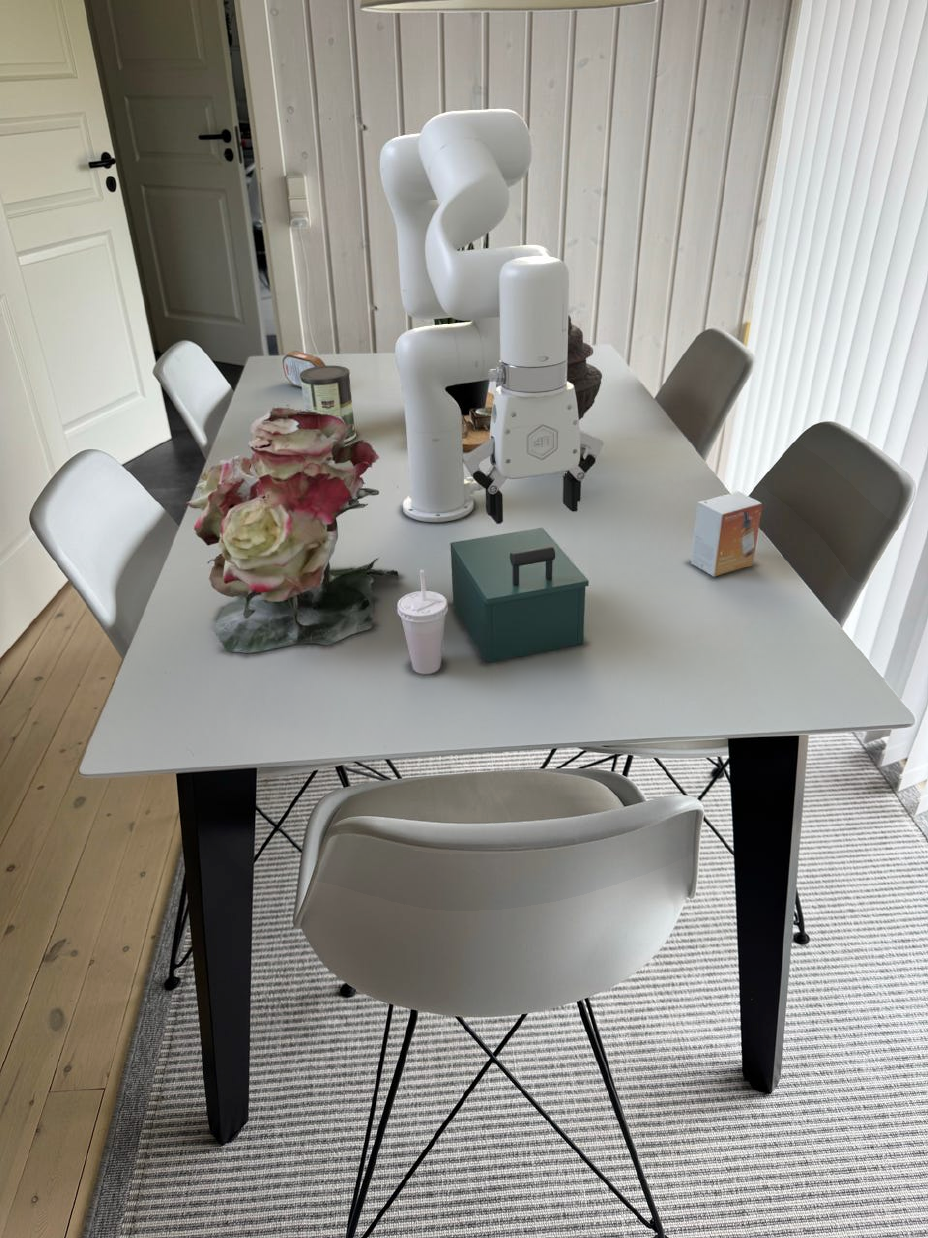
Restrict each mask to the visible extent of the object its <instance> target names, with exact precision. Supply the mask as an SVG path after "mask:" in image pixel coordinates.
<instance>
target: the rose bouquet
mask: <svg viewBox="0 0 928 1238" xmlns="http://www.w3.org/2000/svg"><path fill="white" fill-rule="evenodd" d="M289 406H290V404H286V405H285V406H284V407H282V406H281V407H271V408H269V409H268V411H267V412H266V413H265V414H264V415H263V416H260V417H257V418H256V419H255V420H254V421H253V422H252V423H251V425H250V426H249V431H250V432H249V433H250V434H251V435H252V436H253V437H252V441H251V440H250V441H248V443H247V444H248V447H249V448H250V449H251V450H252V452H254V453H252V454H251V456H250V458H248V457H245V456H243V455H240V454H238V455H235V456H233V457H231V458H227V459H222V460H219V462H218V464H216V465H213V466H211V467H210V468H209V469H207V470H205V471H204V472H202V473H201V475H200V479H202V480H203V482H200V483H197V485H195V487H196V488H198V490H199V492H200V493H199V497H198V498H195V499H193V500H190V501H187V502H185V505H186V506H187V505H188V506H189V508H191V509H196V510H197V509H200V510H201V511H202V513H201V514H200V516H199V518H198V519H197V520H196V522H195V524H194V525H193V530H194V531H195V535H196V536H197V537H198V538H200V539H201V540H202V541H203V542H204V544H205V545H206V546H208V547H210V546H212V545H215V544H218V545H217V546H218V547H219V548H220V550H221V551H220V554H218V556H215V558H214V559H210V560H208V561H207V562H206V563H207V564H209V563H210V562H214V564H213V566H212V567H211V569H210V574H209V577H208V580H209V582H210V585H211V587H212V589H213V590H215V591H216V592H218V593H219V594H221V595H223V596H226V597H230V598H235V597H242V599H239V600H237V601H235V602H233V603H231V604H229V605H227V606H224V608H223V609H222V611H221V612H220V615H219V616H218V618H217V621H216V623H215V625H214V627H213V630H212V632H213V633H214V634H215V636H217V638H218V640H219V641H220V643H221V644H222V646H223V647H224V649H225V651H226V652H231V653H232V652H234V653H235V652H236V653H244V654H249V653H260V652H264V651H269V650H273V649H279V648H282V647H287V646H292V645H300V644H302V645H303V644H318V645H323V646H331V645H334V643H337V642H339V641H340V640H343V639H345V638H347V637H348V636H350V635H351V636H352V635H354V634H356V633H362V632H364V631H368V630H371V629H372V626H373V620H374V619H373V616H374V602H373V601H374V599H373V592H372V591H373V589H372V584H373V583H374V578H373V577H372V576H373V575H376V576H386V575H391V576H396V577H397V578H398V579H397V580H400V579H399V577H400V576H399V572H398V571H397V570H394V569H392V570H391V569H390V570H389V571H387V570H383V569H380V568H379V569H374V565H375V563H376V561H379V559H380V557H378V558H375V559H374V560H373V561H371V562H369V563H367V564H364V565H362V566H359V567H356V568H353V567H349V568H342V569H331V563H330V561H331V558H332V556H333V555H334V552H335V549H336V546H337V545H336V544H337V542H338V539H339V528H338V527H339V525H338V521H337V518H338V517H340V516H341V515H342V514H343V513H346V512H347V511H350V510H357V509H364V508H365V507H367V506H368V505H369V503H366V504H365V503H362V502H360V500H362V499H364V498H366V497H368V496H377V495H380V490H379V489H375V488H370V487H364V485H365V484H367V483H366V482H365V481H364V478H363V477H361V476H362V475H364V474H365V473H366V472H367V470H368V469H369V468H373V464H375V463H377V460H379V459H380V456H379V455H378V454H377V452H376V450H375V449H374V447H373V446H372V444H371V442H370V441H369V440H367V439H365V440H364V439H361V440H357V441H355V442H352V443H349V444H347V445H345V444H346V443H344V440H345V438H346V436H347V435H348V428H347V426H346V424H345V422H344V421H343V419H342V418H341V417H336V416H333V415H331V414H330V415H328V414H321V413H317V412H310V411H308V412H306V411H305V410H302V409H295V408H290V407H289ZM251 467H252V469H253V470H254V472H255V473H256V475H257V476H255V475H254V474H253V472H252V471H251ZM396 486H397V487H396V488H397V489H399V485H396ZM370 575H372V576H370Z"/></svg>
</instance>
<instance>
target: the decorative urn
mask: <svg viewBox="0 0 928 1238" xmlns="http://www.w3.org/2000/svg"><path fill="white" fill-rule="evenodd" d="M593 355H594V348H593V347H592V346H591V345H590V344H588V343H586V342H584V334H583V331H582V330H581V328H580V327H578V326H576V325H575V324H573V323H572V318H571V315H570V314H568V353H567V382H569V383H571V384H573V385H574V389H575V394H576V400H577V407H578V416H579V421H580V420H581V419H583V418H584V416H585V415H586V413H587V412H588V411H589V410H590V409H591V408H592V407H593V405H594V404H595V400H596V398H597V396H598V395H599V392H600V388H601V385H602V379H603V374H602V372H601V370H599V369H598V368H597V367H596V366H595V365H592V364H589V363H587V359H588V358H589V357H591V356H593ZM494 383H496V384H495V388H496V387H498V386H501V384H500V383H499V382H496V381H494ZM586 447H587V446H586V445H584V444H582V443H580V456H581V455H582V454H583V453H584V452H585V449H586Z"/></svg>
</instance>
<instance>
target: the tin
mask: <svg viewBox="0 0 928 1238" xmlns="http://www.w3.org/2000/svg"><path fill="white" fill-rule="evenodd" d="M318 366H327V364H325V362H324V361H323V360H322V359H321V357H319V356H317V355H313V354H309V353H305V352H302V351H298V350H293V351H292V352H289V353H287V354H285V356H284V357H283V359H282V368H283V372H284V376H285V378H286V379H287V380H288V383H290V384H291V385H293V386H294V387H298V388H301V389H302V385H301V379H300V373H301V372H302V371H304V370H306V369H309V368H313V367H318Z"/></svg>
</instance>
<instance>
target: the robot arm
mask: <svg viewBox="0 0 928 1238" xmlns="http://www.w3.org/2000/svg"><path fill="white" fill-rule="evenodd" d="M532 156H533V141H532V136H531V133H530V129H529V127H528V124H527V123H526V122H525V120H524V119H523V117H522V116H521V115H520V114H518V113H517V112H516V111H514V110H512V109H509V108H508V109H507V108H496V109H495V108H494V109H493V108H492V109H474V110H473V109H472V110H457V111H456V110H453V111H448V112H447V111H446V112H443V113H440V114H438V115H435V116H434V117H432V118H431V119H430V120H428V121H427V122H426V124H424V126H423V128H422V129H421V131H420V133H413V134H406V135H401V136H396V137H394V138H392V139H390V140H388V141H386V143H384V145H383V146H382V148H381V150H380V154H379V175H380V181H381V186H382V189H383V193H384V195H385V198H386V201H387V204H388V206H389V207H390V211H391V213H392V217H393V219H394V223H395V228H396V229H395V230H396V240H397V256H398V258H397V259H398V273H399V288H400V298H401V303H402V306H403V310H404V311H405V313H406V314H407V315H408V316H409V317H411V318H412V319H415V320H423V321H424V320H440V319H449V318H451V319H453V320H457V321H463V322H456V323H449V324H448V323H444V324H435V325H426V326H419V327H415V328H414V327H413V328H411V329H409V330H406V331H405V332H403V333H402V334H401V335H400V336H399V337H397V340H396V343H395V347H394V357H395V364H396V368H397V372H398V376H399V381H400V386H401V391H402V398H403V407H404V408H403V409H404V419H405V420H404V421H405V431H406V445H407V447H406V448H407V449H406V450H407V461H408V476H409V477H408V478H409V491H410V494H409V495H408V496H407V497H405V499H404V500H403V502H402V510H403V513H404V514H405V515H406V516H407V517H409V518H410V519H412V520H416V521H419V522H425V523H446V522H451V521H455V520H458V519H462V518H464V517H465V516H467V515H469V514H470V513H472V511H473V509H474V505H475V504H474V499H473V497H472V496H471V495H473V494H475V492H476V491H481V490H485V512H486V514H487V515H488V516H490V518H491V519H492V520H493V521H494V523H495V524H496V525H500V524H502V523H504V502H503V501H504V498H503V497H504V495H503V493H502V491H501V490H500V489H501V487H502V486H503V484H504V483H505V482H506V480H507V479H508V480H519V479H526V478H527V479H528V478H534V477H540V476H547V475H554V474H559V473H564V475H563V477H562V478H563V479H562V504H563V505H564V506H565V507H566V508H567V509H568V510H569V511H570V512H571V513H575V512H578V509H579V508H578V507H579V505H578V504H579V502H581V495H582V494H581V493H582V481H583V480H584V479H585V478H586V473H587V472H588V471H589V470H590V469H591V468H592V467H593V466H594V464H595V463H596V458H597V457H598V455H599V453H600V451H601V449H602V448H603V446H604V442H603V440H602V439H601V438H599V437H598V436H597V435H593V434H591V433H588V432H585V431H583V430H580V420H579V416H578V407H577V400H576V394H575V389H574V385H573V384H571V383H569V382H567V353H568V315H569V307H570V306H569V305H570V303H569V302H570V299H569V298H570V272H569V269H568V265H567V264H566V263H565V262H564V261H563V260H561V259H559V258H557V257H554V254H552V252H551V251H550V250H549V249H548V248H546V247H545V246H542V245H537V244H525V245H524V244H523V245H514V246H500V247H498V246H497V247H488V248H475V249H465V250H461V249H462V248H465V247H466V246H469V245H470V244H472V243H474V242H476V241H477V240H480V239H481V238H482V237H484V236H486V235H487V234H489V233H490V232H492V231H493V230H494V229H495V228H496V227H498V226H499V225H500V223H502V221H503V220H504V218H505V216H506V215H507V212H508V209H509V206H510V200H511V198H510V188H511V187H513V186H515V185H516V184H517V183H519V182H521V181H522V180H523V178H525V176H526V175H527V173H528V171H529V169H530V166H531V163H532V158H533V157H532ZM465 321H466V322H465ZM488 380H489V382H490V383H493V382H494V383H496V382H499V383H500V384H501V386H498V387H496V386H495V390H494V391H495V392H494V395H493V400H492V407H491V414H490V415H491V416H490V426H489V439H487V440H485V441H484V442H483V443H482V444H480V445H478V446H477V447H475V448H474V449H473V450H471V451H470V452H468V453H467V454H465V455H464V447H463V445H464V444H463V443H464V442H463V421H462V420H463V417H462V410H461V408H460V406H459V403H458V402H457V400H455V398H454V397H453V396H452V395H451V394H449V392H448V391H446V388H447V387H450V386H455V385H461V384H469V383H477V382H482V381H483V382H484V381H488ZM495 381H496V382H495ZM580 443H582V444H584V445H586V446H587V447H586V449H585V452H584V453H583V454H582V455H581V456H580ZM487 458H489V462H490V464H491V466H490V468H489V469H488V470H487V472H486V473H484V472H483V471H482V470H481V468H480V463H481V462H483V461H485V460H486V459H487ZM464 466H465V468H466V470H467V471H468V473H469V474H470V476H468V477H465V472H464V471H465V469H464Z"/></svg>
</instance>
